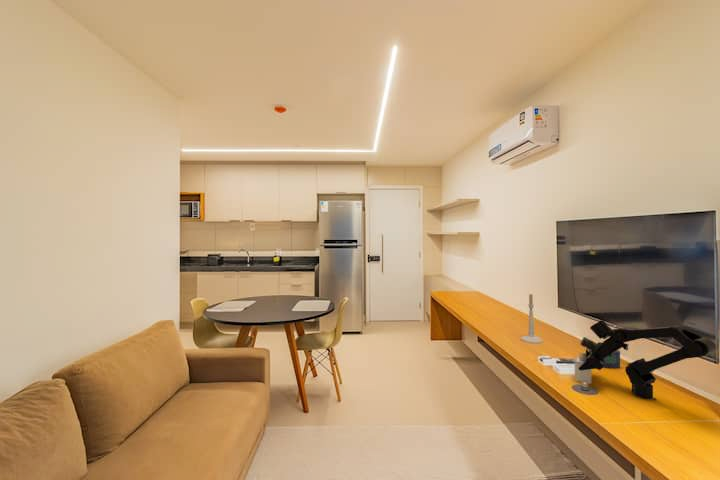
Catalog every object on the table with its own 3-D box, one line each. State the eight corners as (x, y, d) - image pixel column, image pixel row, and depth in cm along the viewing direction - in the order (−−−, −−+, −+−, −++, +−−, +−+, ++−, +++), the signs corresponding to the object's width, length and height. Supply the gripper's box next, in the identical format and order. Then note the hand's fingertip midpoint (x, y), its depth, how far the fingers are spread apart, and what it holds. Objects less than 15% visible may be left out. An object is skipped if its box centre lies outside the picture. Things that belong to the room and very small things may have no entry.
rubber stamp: (591, 380, 161) (590, 352, 160) (591, 385, 155) (591, 357, 155) (574, 377, 164) (574, 350, 164) (574, 382, 159) (574, 354, 158)
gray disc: (604, 396, 146) (604, 393, 146) (583, 398, 144) (583, 395, 144) (586, 385, 155) (585, 383, 155) (566, 387, 154) (566, 385, 154)
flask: (618, 366, 176) (618, 345, 175) (621, 368, 173) (621, 347, 173) (598, 365, 178) (598, 345, 177) (601, 367, 175) (601, 347, 175)
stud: (591, 390, 148) (591, 383, 148) (584, 391, 148) (584, 384, 148) (585, 387, 152) (585, 380, 152) (578, 387, 151) (578, 381, 151)
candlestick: (545, 343, 213) (545, 295, 212) (524, 343, 215) (523, 295, 214) (538, 337, 226) (538, 292, 225) (517, 336, 228) (517, 291, 227)
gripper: (592, 327, 165) (565, 347, 171) (593, 338, 149) (564, 359, 155) (612, 346, 161) (584, 365, 167) (616, 359, 145) (585, 380, 151)
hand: (579, 366), depth 160 cm, fingers closed on rubber stamp, 6 cm apart
